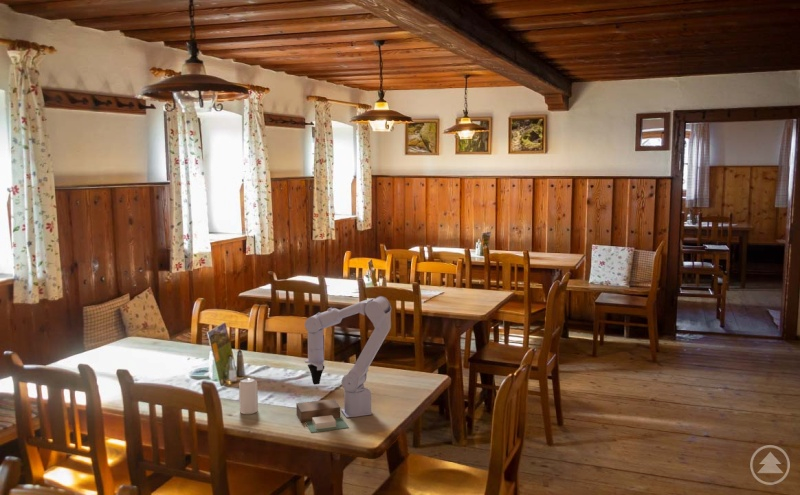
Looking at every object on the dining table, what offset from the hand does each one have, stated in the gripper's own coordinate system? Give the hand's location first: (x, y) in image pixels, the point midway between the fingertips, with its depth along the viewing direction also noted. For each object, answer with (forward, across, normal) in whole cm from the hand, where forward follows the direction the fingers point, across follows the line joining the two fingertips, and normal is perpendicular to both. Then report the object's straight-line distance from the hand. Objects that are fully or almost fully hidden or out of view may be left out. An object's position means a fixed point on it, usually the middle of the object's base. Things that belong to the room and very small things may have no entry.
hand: (316, 383), depth 246 cm
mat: (+9, +17, 0) cm, 20 cm away
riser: (+9, +8, -1) cm, 12 cm away
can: (+10, -5, -24) cm, 26 cm away
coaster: (+7, +17, -1) cm, 19 cm away
